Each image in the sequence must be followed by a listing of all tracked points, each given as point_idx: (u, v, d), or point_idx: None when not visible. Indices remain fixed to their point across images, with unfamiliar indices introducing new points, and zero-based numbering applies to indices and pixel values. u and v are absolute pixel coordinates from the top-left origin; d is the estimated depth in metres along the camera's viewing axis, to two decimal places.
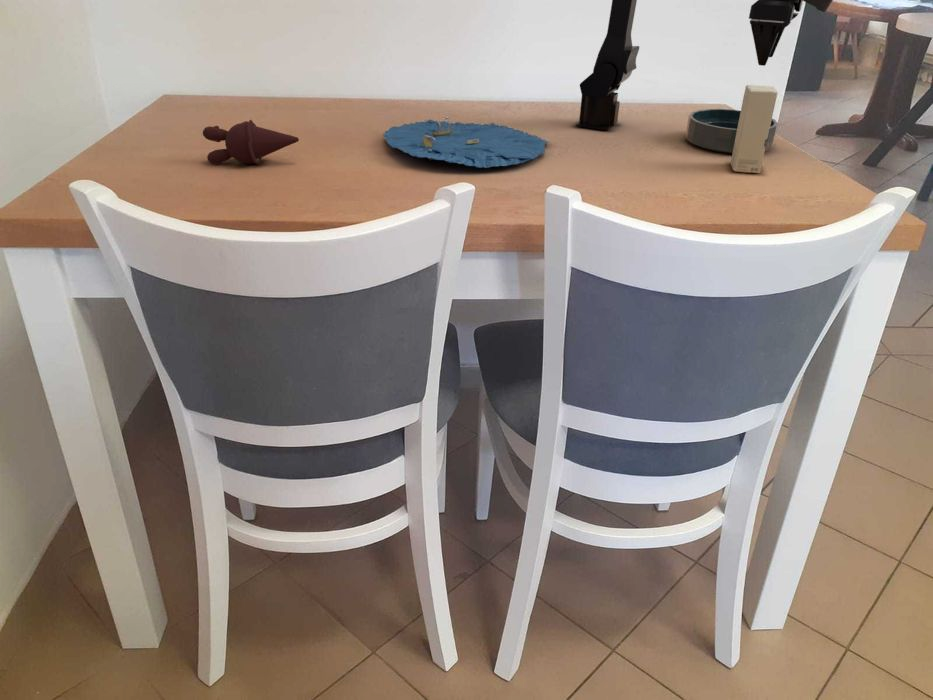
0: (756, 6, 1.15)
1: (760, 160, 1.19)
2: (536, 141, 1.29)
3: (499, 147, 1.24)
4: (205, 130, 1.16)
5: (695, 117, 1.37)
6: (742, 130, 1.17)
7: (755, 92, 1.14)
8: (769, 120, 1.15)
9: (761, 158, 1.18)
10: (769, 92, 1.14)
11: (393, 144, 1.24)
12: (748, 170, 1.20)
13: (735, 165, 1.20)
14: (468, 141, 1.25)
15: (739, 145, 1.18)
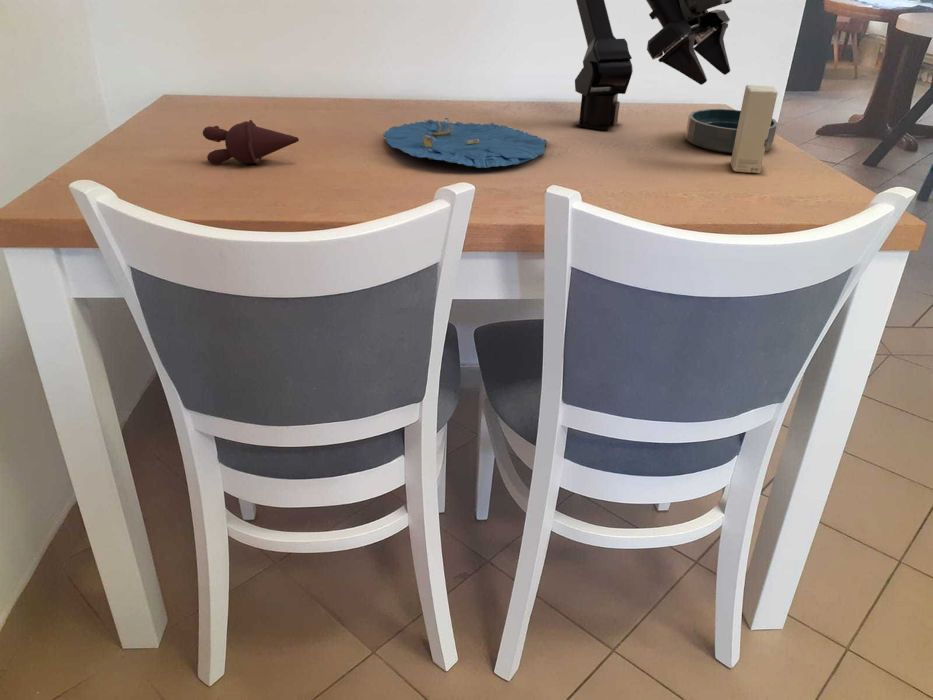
0: (648, 47, 1.15)
1: (760, 160, 1.19)
2: (536, 141, 1.29)
3: (499, 147, 1.24)
4: (205, 130, 1.16)
5: (695, 117, 1.37)
6: (742, 130, 1.17)
7: (755, 92, 1.14)
8: (769, 120, 1.15)
9: (761, 158, 1.18)
10: (769, 92, 1.14)
11: (393, 144, 1.24)
12: (748, 170, 1.20)
13: (735, 165, 1.20)
14: (468, 141, 1.25)
15: (739, 145, 1.18)
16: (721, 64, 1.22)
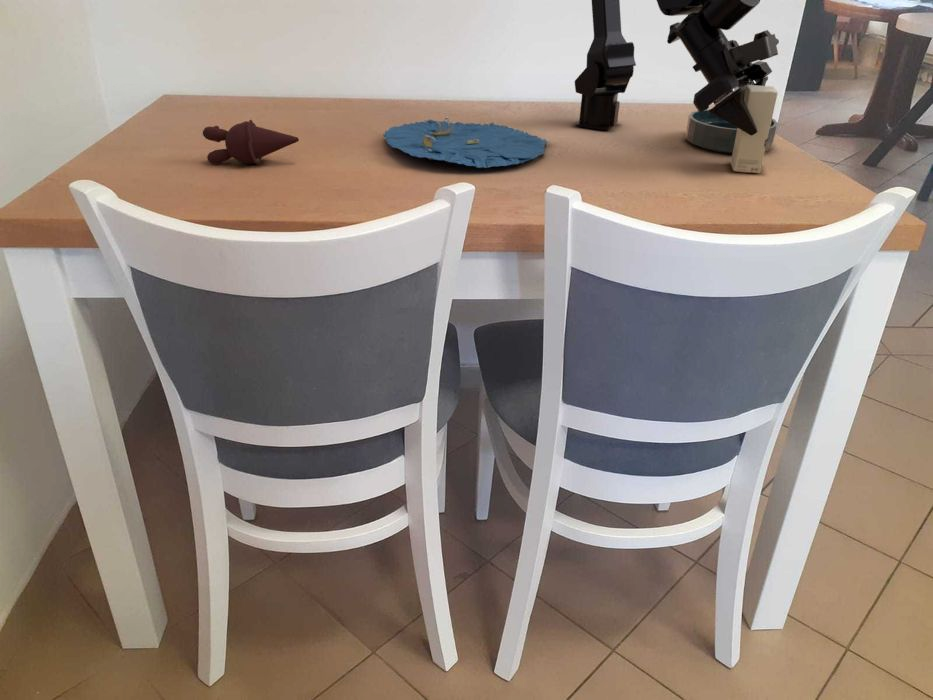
0: (695, 100, 1.13)
1: (760, 160, 1.19)
2: (536, 141, 1.29)
3: (499, 147, 1.24)
4: (205, 130, 1.16)
5: (695, 117, 1.37)
6: None
7: (755, 92, 1.14)
8: (769, 120, 1.15)
9: (761, 158, 1.18)
10: (769, 92, 1.14)
11: (393, 144, 1.24)
12: (748, 170, 1.20)
13: (735, 165, 1.20)
14: (468, 141, 1.25)
15: (739, 145, 1.18)
16: None
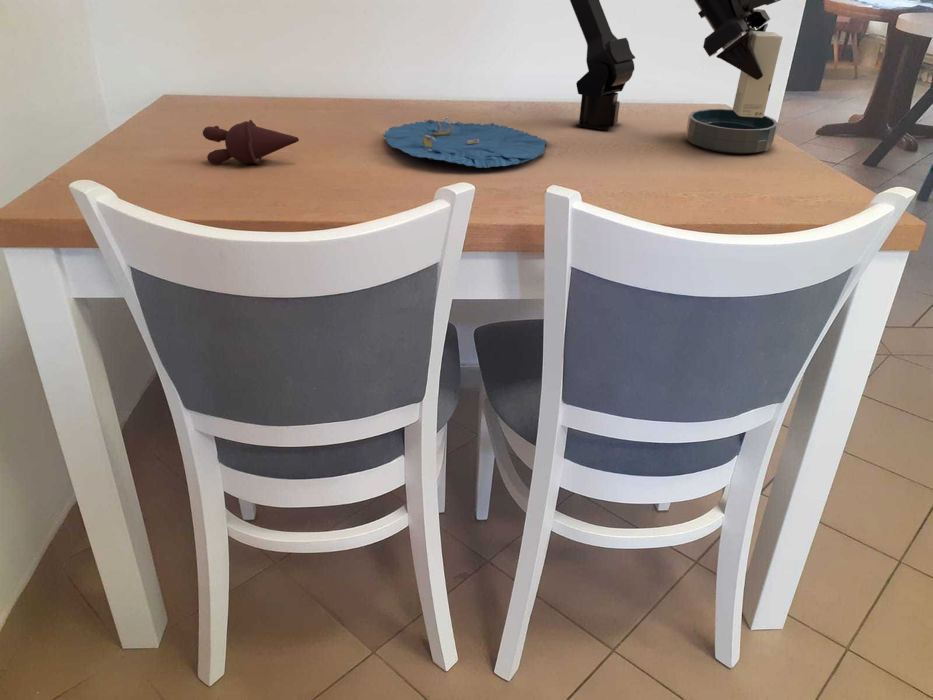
0: (706, 44, 1.16)
1: (764, 104, 1.22)
2: (536, 141, 1.29)
3: (499, 147, 1.24)
4: (205, 130, 1.16)
5: (695, 117, 1.37)
6: (748, 75, 1.20)
7: (762, 36, 1.17)
8: (774, 64, 1.19)
9: (765, 102, 1.22)
10: (774, 36, 1.17)
11: (393, 144, 1.24)
12: (752, 115, 1.23)
13: (740, 110, 1.23)
14: (468, 141, 1.25)
15: (744, 90, 1.22)
16: None
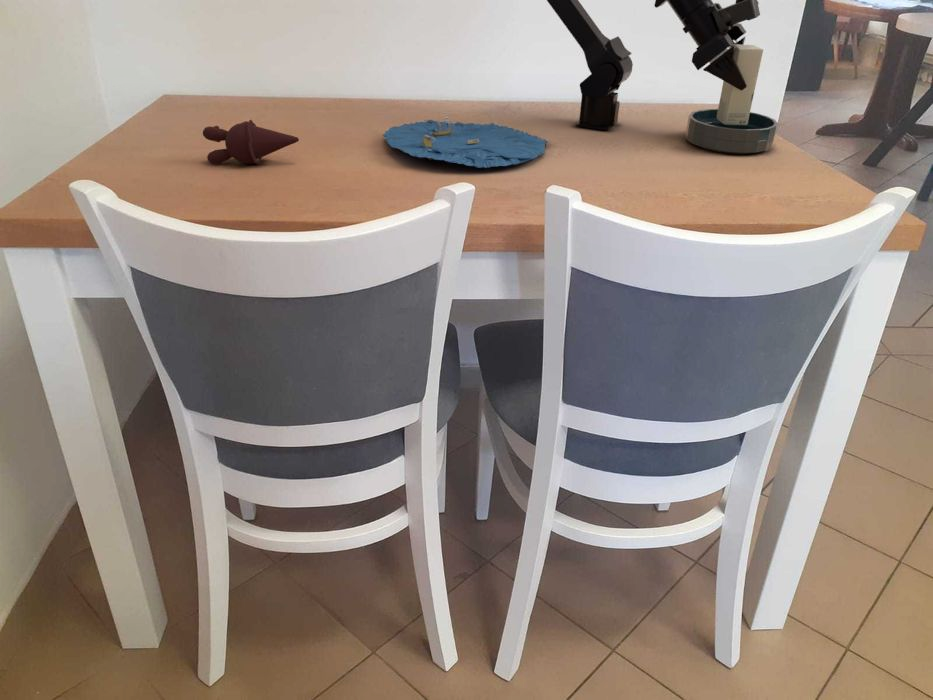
0: (695, 58, 1.22)
1: (747, 113, 1.30)
2: (536, 141, 1.29)
3: (499, 147, 1.24)
4: (205, 130, 1.16)
5: (695, 117, 1.37)
6: (732, 86, 1.27)
7: (744, 49, 1.24)
8: (756, 75, 1.26)
9: (748, 111, 1.29)
10: (756, 49, 1.24)
11: (393, 144, 1.24)
12: (737, 123, 1.30)
13: (726, 119, 1.30)
14: (468, 141, 1.25)
15: (729, 100, 1.28)
16: None
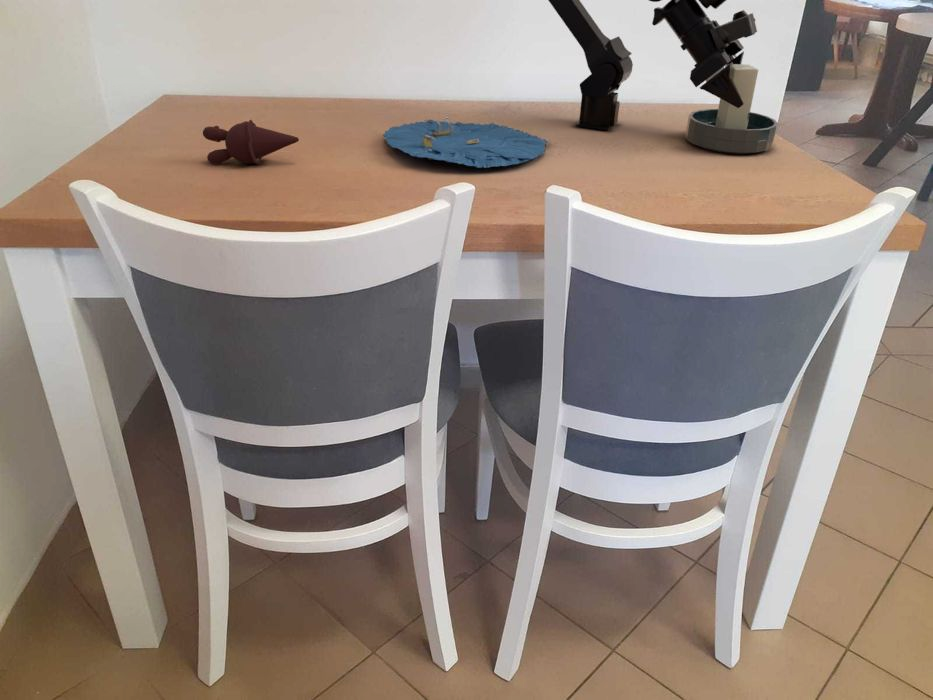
0: (693, 76, 1.24)
1: None
2: (536, 141, 1.29)
3: (499, 147, 1.24)
4: (205, 130, 1.16)
5: (695, 117, 1.37)
6: (728, 105, 1.29)
7: (739, 70, 1.26)
8: (751, 95, 1.28)
9: None
10: (751, 69, 1.26)
11: (393, 144, 1.24)
12: None
13: None
14: (468, 141, 1.25)
15: (725, 119, 1.30)
16: None
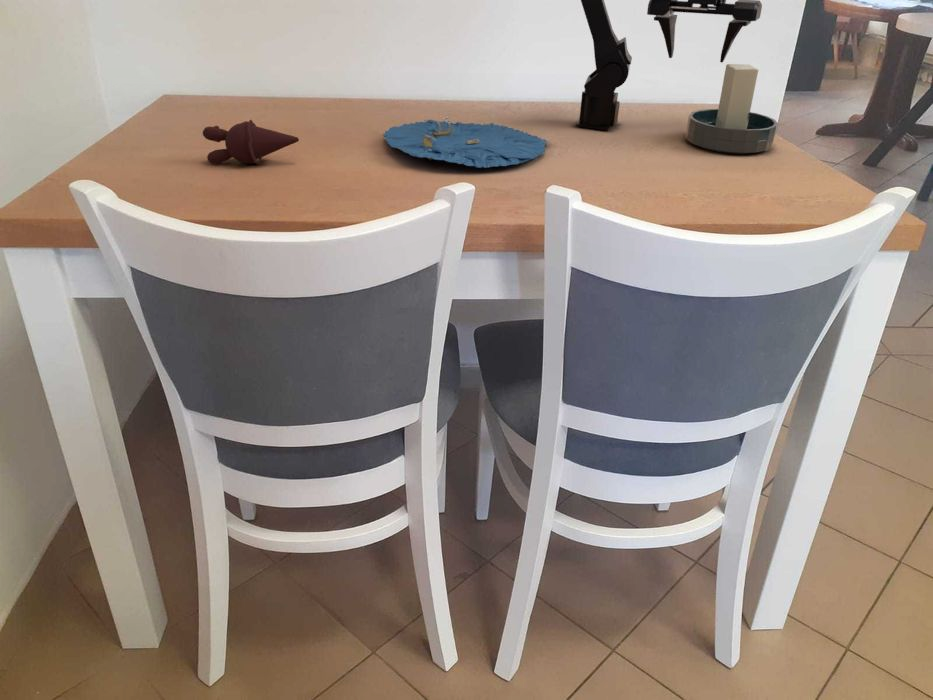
0: (757, 9, 1.24)
1: None
2: (536, 141, 1.29)
3: (499, 147, 1.24)
4: (205, 130, 1.16)
5: (695, 117, 1.37)
6: (728, 105, 1.29)
7: (739, 70, 1.26)
8: (751, 95, 1.28)
9: None
10: (751, 69, 1.26)
11: (393, 144, 1.24)
12: None
13: None
14: (468, 141, 1.25)
15: (725, 119, 1.30)
16: (672, 47, 1.35)
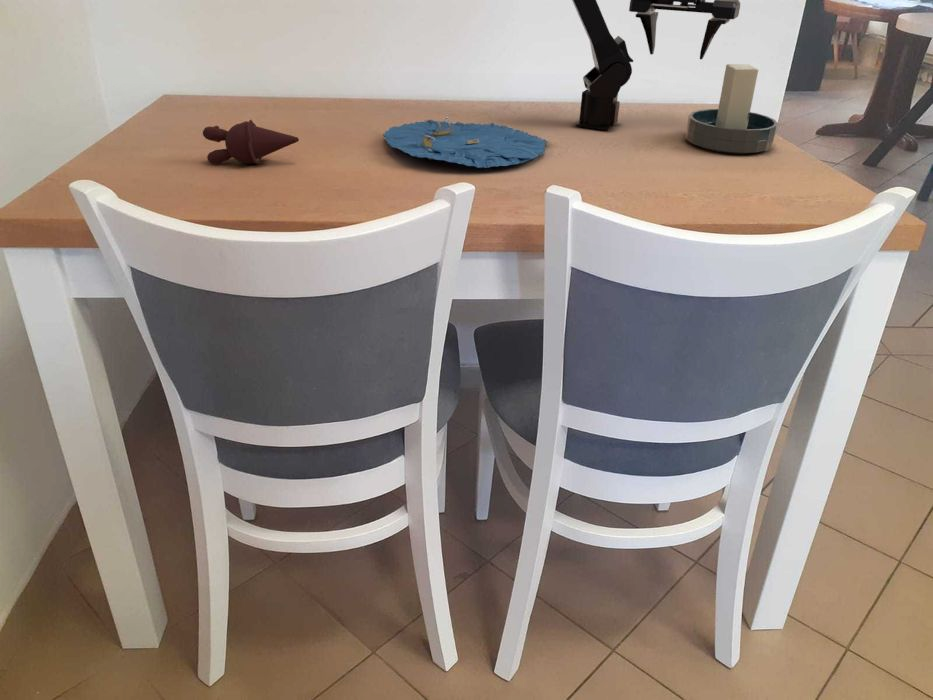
0: (736, 7, 1.28)
1: None
2: (536, 141, 1.29)
3: (499, 147, 1.24)
4: (205, 130, 1.16)
5: (695, 117, 1.37)
6: (728, 105, 1.29)
7: (739, 70, 1.26)
8: (751, 95, 1.28)
9: None
10: (751, 69, 1.26)
11: (393, 144, 1.24)
12: None
13: None
14: (468, 141, 1.25)
15: (725, 119, 1.30)
16: (653, 44, 1.38)
